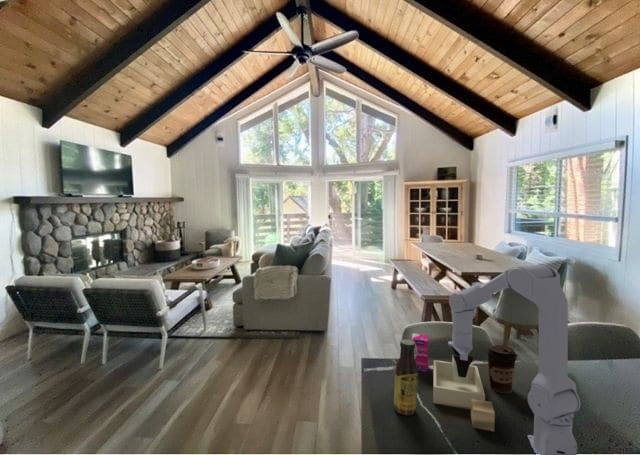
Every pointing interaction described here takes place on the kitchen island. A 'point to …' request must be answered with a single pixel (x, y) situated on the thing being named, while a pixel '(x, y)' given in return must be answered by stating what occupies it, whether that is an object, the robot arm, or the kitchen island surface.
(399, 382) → the sauce bottle
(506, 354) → the coffee cup
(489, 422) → the oak cube
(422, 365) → the supplement box
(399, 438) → the kitchen island surface
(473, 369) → the box
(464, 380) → the sage cylinder
